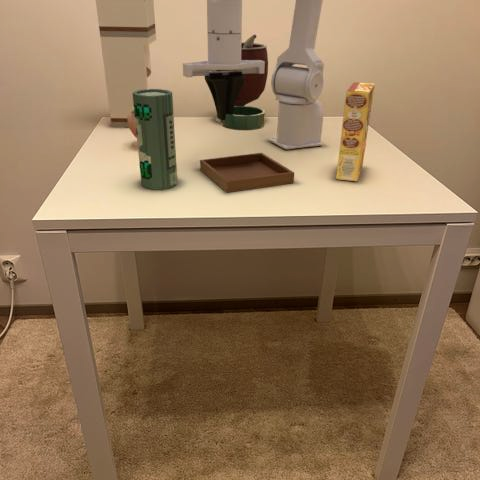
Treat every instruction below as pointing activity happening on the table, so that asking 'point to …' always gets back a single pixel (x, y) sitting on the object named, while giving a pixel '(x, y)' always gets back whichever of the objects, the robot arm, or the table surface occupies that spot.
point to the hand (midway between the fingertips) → (224, 118)
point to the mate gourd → (253, 81)
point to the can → (155, 138)
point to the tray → (246, 172)
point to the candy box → (354, 130)
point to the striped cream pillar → (125, 51)
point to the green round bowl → (244, 118)
